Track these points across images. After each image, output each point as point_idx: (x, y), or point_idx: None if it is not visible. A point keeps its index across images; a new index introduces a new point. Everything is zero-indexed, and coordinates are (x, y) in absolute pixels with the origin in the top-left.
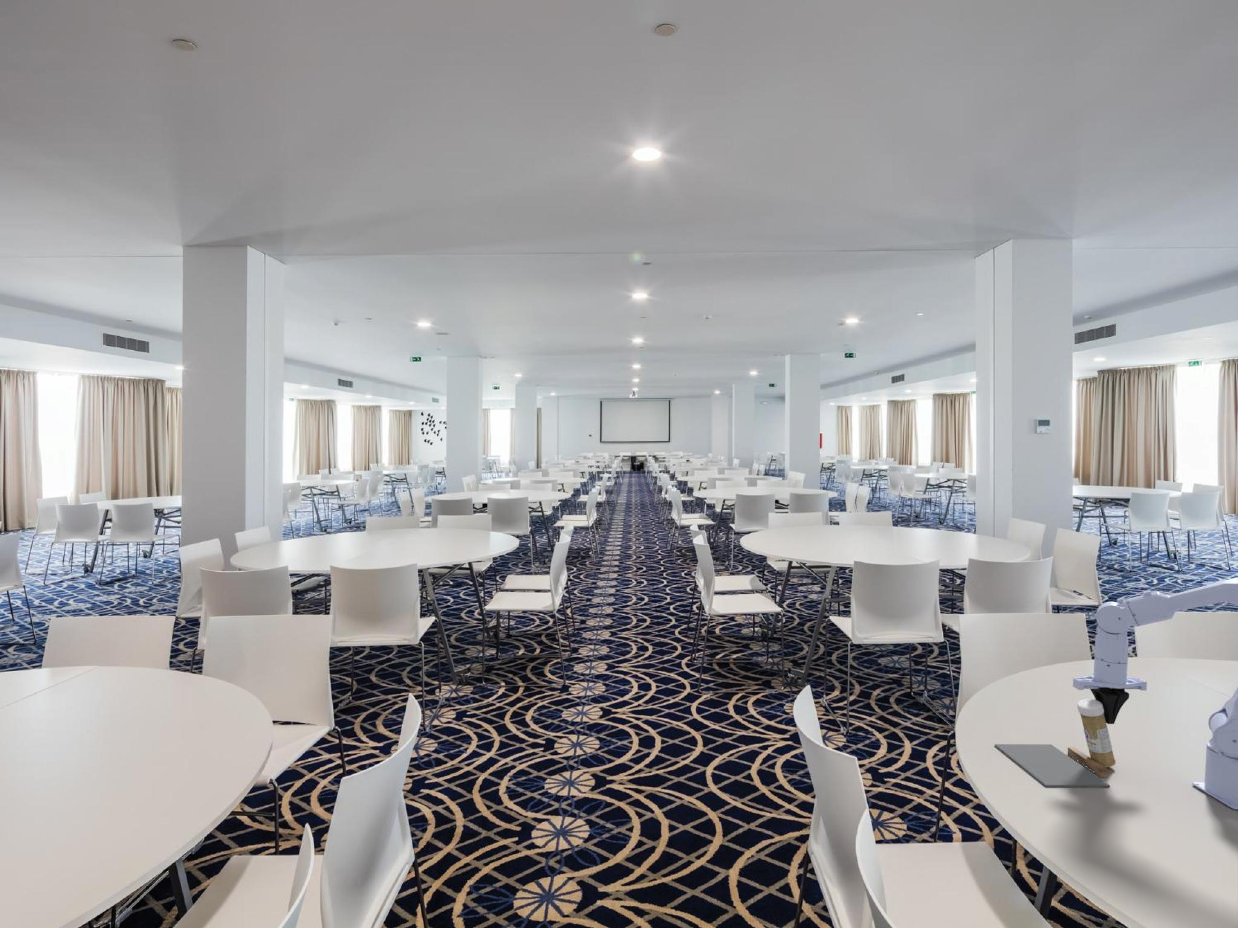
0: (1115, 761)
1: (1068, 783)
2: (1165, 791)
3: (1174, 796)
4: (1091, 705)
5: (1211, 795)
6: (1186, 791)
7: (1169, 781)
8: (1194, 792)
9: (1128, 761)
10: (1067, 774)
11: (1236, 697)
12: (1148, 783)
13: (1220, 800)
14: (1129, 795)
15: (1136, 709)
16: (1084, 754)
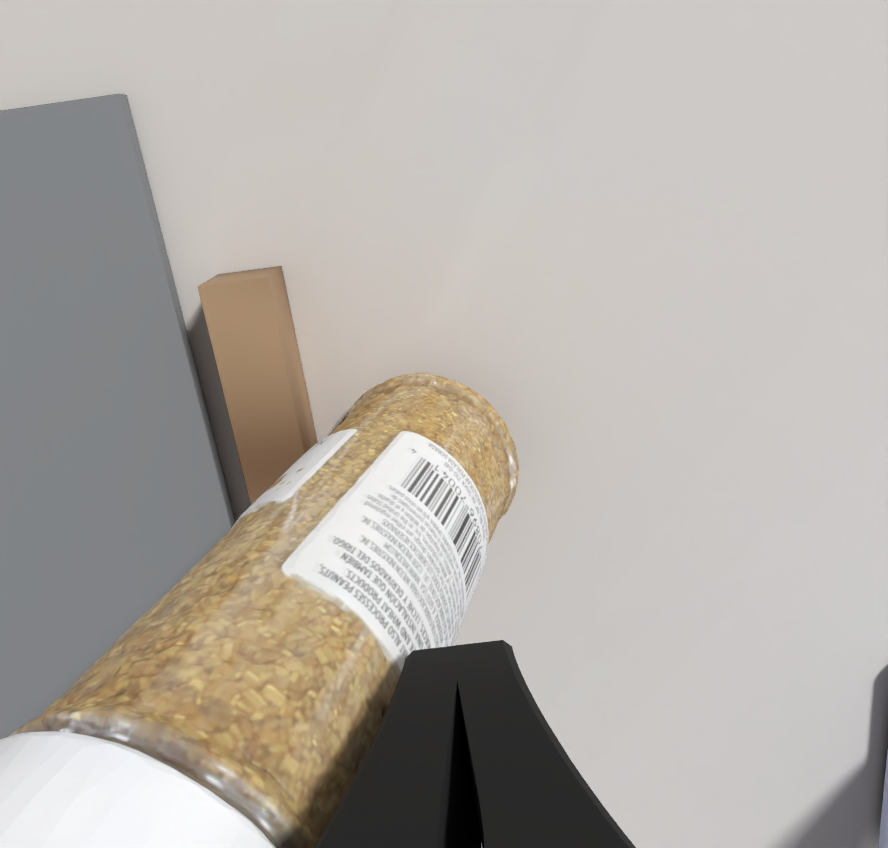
0: (502, 515)
1: None
2: (633, 752)
3: (643, 798)
4: None
5: (885, 785)
6: (776, 736)
7: (774, 627)
8: (819, 741)
9: (703, 342)
10: (57, 660)
11: None
12: (596, 671)
13: (881, 836)
14: None
15: None
16: (290, 423)
